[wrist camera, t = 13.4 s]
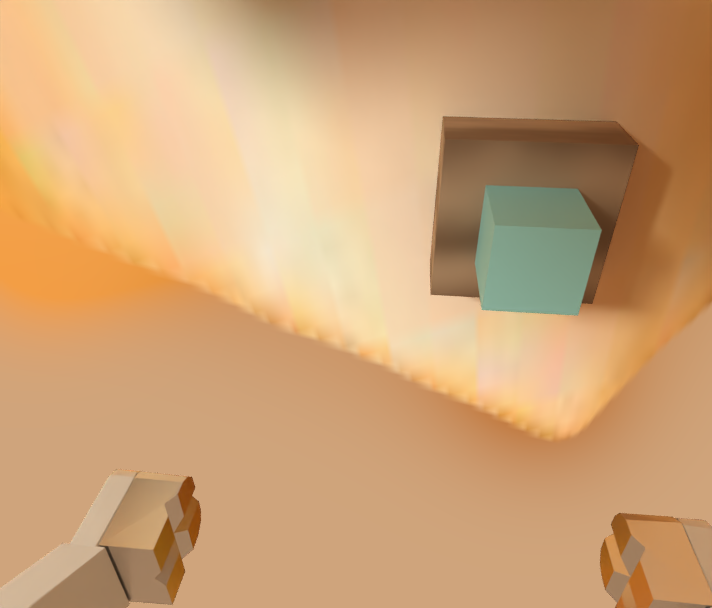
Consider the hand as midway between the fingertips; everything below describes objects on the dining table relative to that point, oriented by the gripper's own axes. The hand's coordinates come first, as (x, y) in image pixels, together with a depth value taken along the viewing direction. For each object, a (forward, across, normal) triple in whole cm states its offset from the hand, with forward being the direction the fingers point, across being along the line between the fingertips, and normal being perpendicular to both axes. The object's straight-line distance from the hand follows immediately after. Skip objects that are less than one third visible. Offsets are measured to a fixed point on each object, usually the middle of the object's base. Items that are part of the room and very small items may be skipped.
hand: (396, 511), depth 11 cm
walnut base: (+34, -8, +8) cm, 36 cm away
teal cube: (+29, -8, +8) cm, 31 cm away
